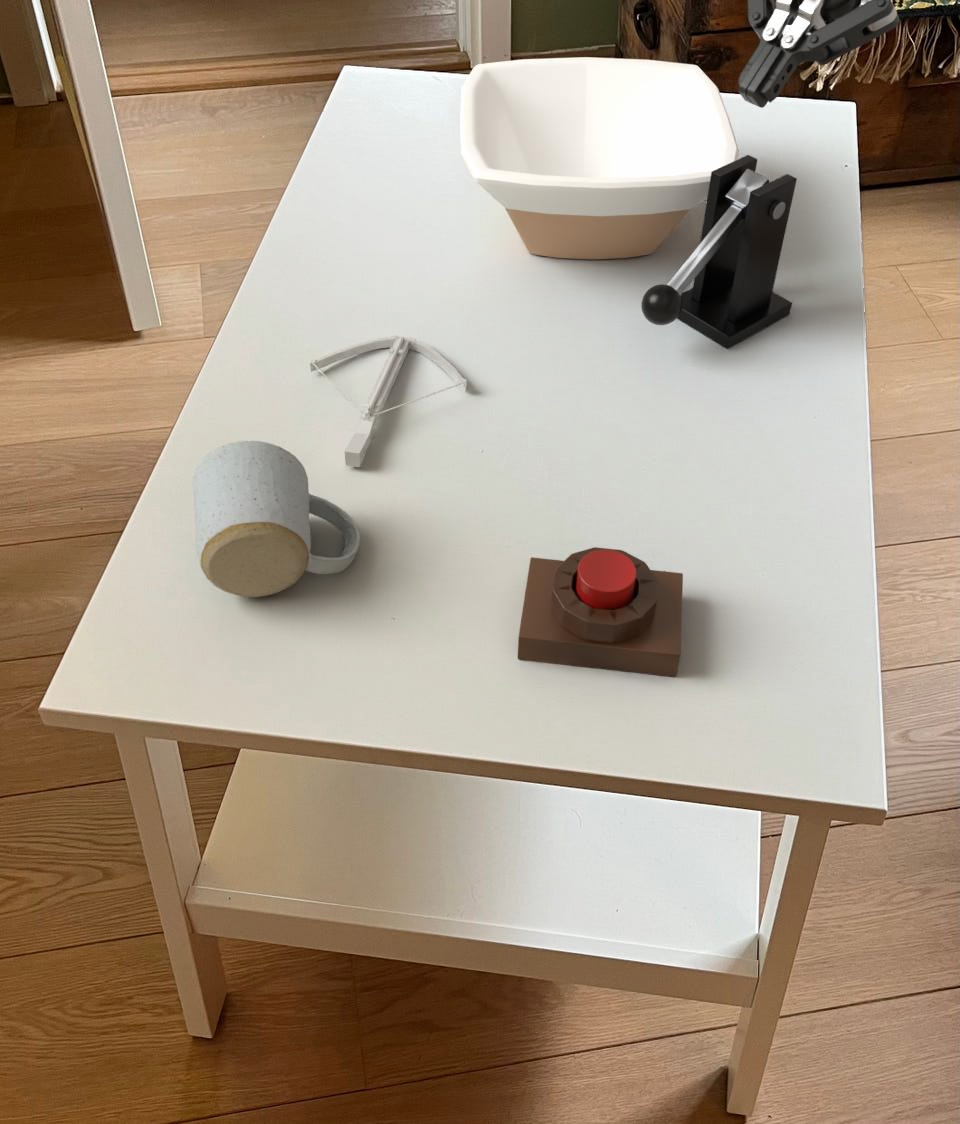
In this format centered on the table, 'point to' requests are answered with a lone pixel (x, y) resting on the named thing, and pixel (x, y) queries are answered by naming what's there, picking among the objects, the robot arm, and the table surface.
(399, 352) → the crossbow
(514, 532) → the table surface
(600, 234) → the bowl
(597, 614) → the button block
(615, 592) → the button
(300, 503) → the ceramic mug
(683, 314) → the bracket
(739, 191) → the lever
